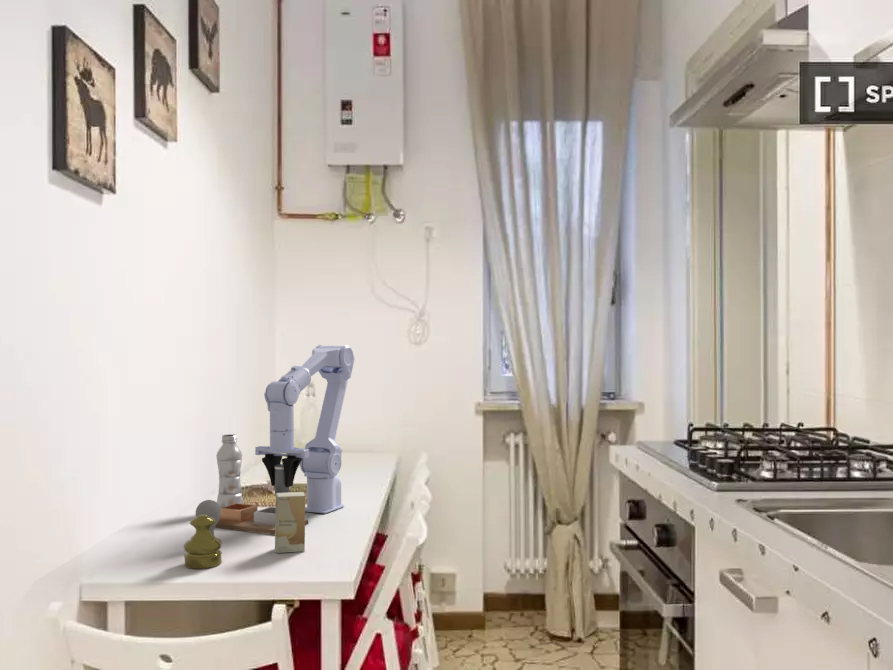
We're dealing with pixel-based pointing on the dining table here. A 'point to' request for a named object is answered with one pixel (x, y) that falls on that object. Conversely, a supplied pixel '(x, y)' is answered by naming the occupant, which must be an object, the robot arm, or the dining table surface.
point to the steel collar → (265, 517)
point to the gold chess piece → (202, 545)
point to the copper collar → (238, 512)
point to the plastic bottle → (229, 472)
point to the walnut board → (248, 526)
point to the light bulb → (209, 511)
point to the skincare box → (290, 522)
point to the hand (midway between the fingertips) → (282, 485)
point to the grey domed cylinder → (280, 479)
